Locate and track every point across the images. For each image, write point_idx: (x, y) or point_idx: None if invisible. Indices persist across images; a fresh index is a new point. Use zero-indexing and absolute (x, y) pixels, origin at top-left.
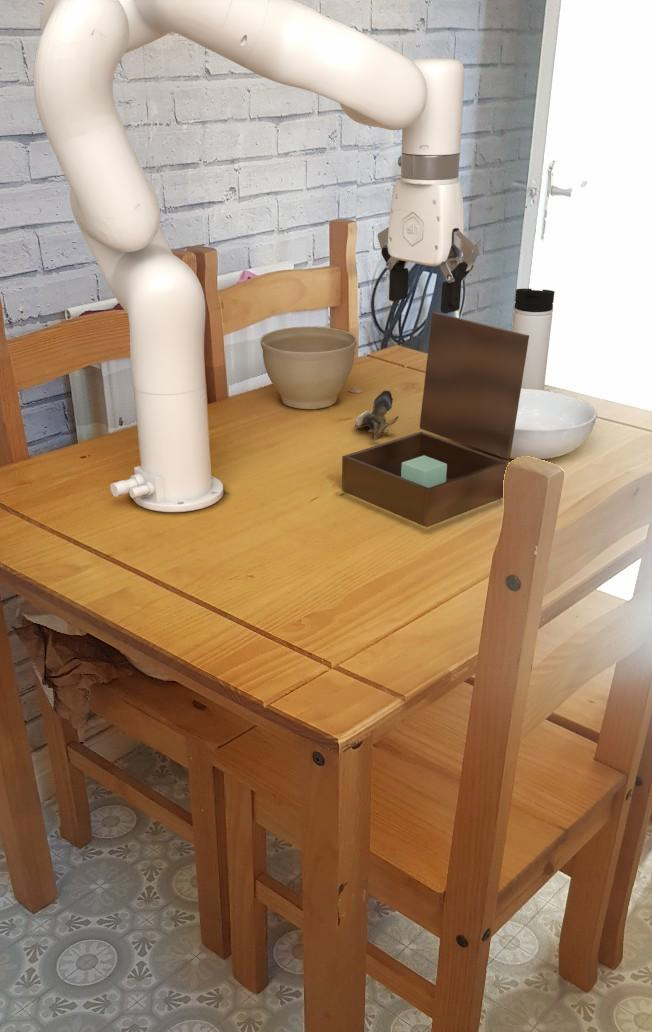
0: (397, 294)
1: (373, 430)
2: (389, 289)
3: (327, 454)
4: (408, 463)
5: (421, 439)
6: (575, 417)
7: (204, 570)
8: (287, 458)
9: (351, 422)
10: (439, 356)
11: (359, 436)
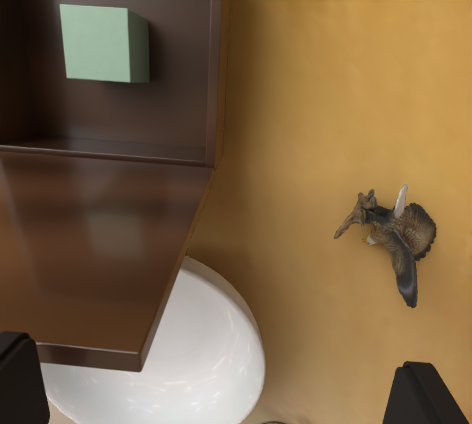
0: (403, 416)
1: (367, 197)
2: (460, 414)
3: (398, 89)
4: (114, 16)
5: (204, 158)
6: (127, 410)
7: None
8: (454, 8)
9: (462, 247)
10: (126, 244)
11: (405, 203)
